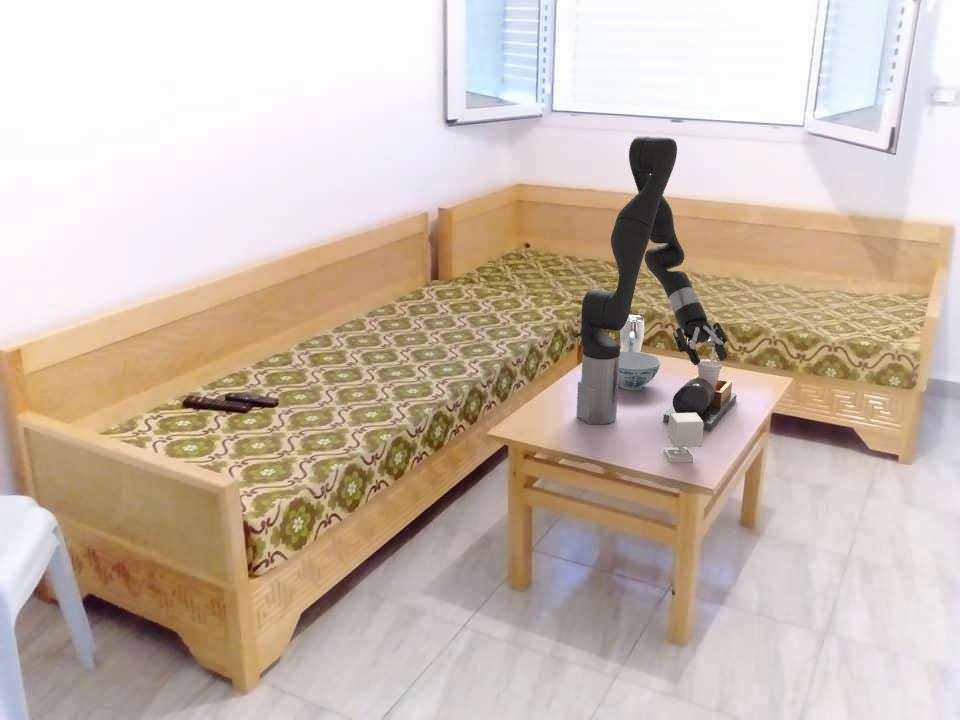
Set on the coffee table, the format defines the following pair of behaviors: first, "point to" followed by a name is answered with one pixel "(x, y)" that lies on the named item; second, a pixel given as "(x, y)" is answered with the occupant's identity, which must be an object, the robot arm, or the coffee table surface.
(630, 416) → the coffee table surface
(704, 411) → the motor mount
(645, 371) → the chinaware
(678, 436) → the security camera
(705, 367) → the smoothie
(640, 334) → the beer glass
